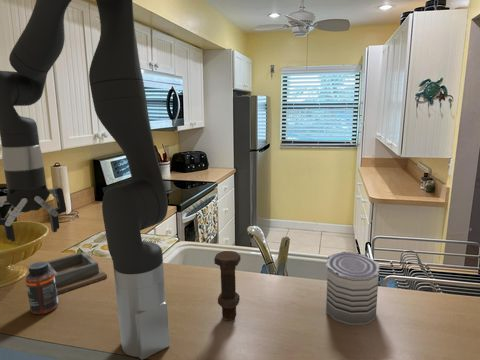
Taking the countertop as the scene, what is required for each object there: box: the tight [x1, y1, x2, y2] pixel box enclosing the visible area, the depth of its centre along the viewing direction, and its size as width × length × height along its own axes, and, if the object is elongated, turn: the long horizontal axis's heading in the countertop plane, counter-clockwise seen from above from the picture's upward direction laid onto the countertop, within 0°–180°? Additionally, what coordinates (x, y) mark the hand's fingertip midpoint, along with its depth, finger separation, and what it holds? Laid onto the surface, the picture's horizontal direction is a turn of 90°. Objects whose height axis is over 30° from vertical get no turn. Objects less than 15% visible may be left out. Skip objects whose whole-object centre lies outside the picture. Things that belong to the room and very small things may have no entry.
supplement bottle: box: [25, 261, 59, 315], centre depth 85 cm, size 6×6×11 cm
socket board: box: [46, 251, 108, 295], centre depth 102 cm, size 16×14×4 cm
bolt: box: [213, 250, 241, 321], centre depth 79 cm, size 6×5×15 cm
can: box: [325, 251, 380, 326], centre depth 81 cm, size 11×11×12 cm
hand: (34, 235), depth 82 cm, fingers open, 8 cm apart
